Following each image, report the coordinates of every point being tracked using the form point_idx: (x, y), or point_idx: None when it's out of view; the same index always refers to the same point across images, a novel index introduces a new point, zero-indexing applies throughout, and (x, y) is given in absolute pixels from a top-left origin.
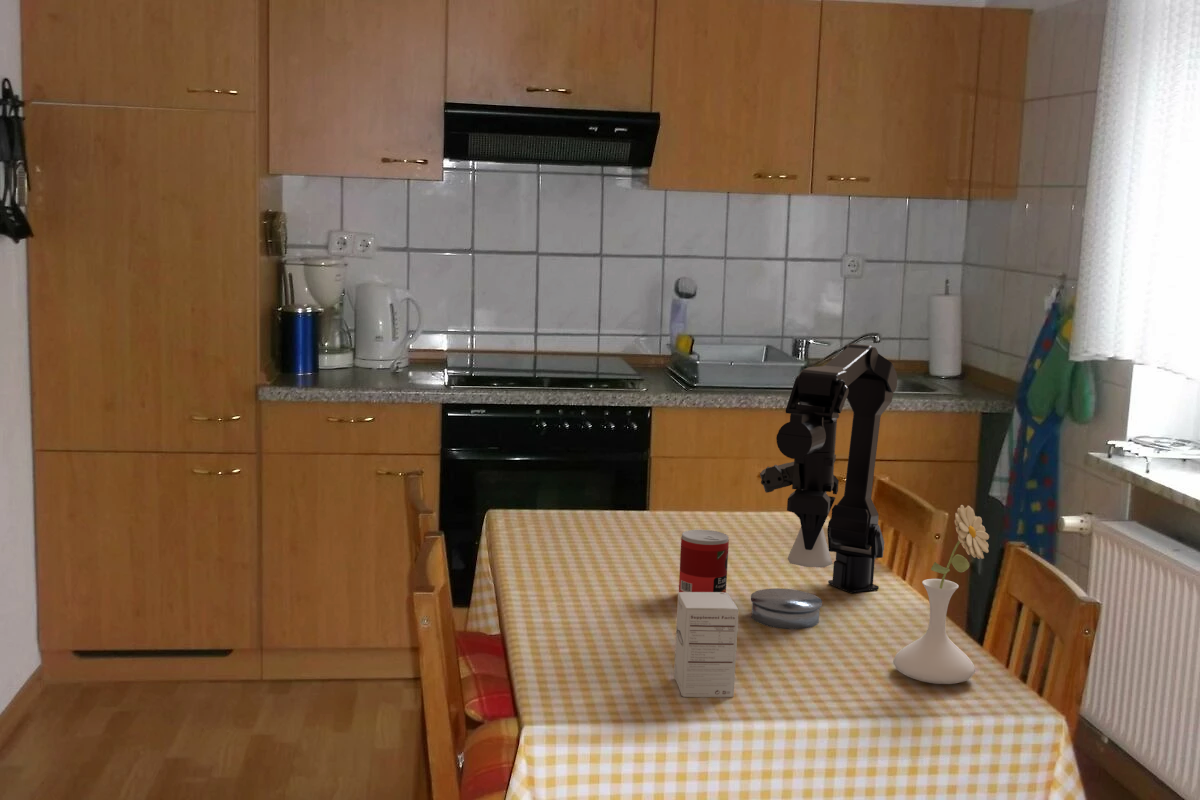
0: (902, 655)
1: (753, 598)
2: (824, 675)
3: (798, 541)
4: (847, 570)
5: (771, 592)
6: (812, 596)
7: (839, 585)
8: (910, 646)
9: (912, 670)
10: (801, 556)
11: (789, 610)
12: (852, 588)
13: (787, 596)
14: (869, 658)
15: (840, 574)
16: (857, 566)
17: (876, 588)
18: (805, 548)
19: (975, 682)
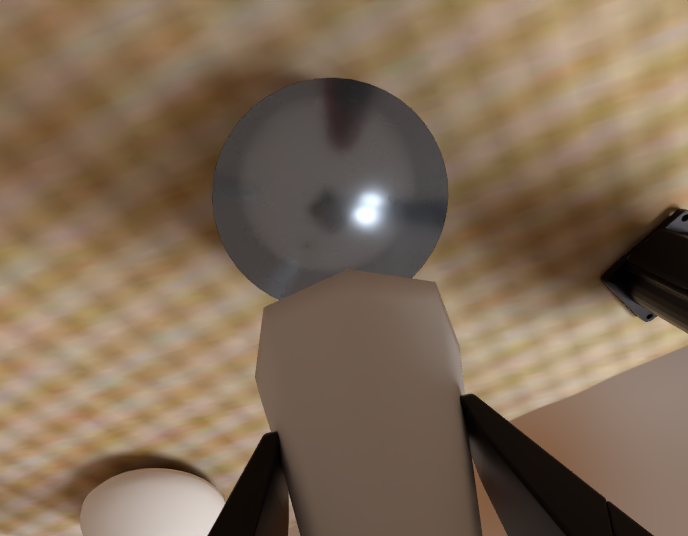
0: (101, 510)
1: (270, 105)
2: (4, 383)
3: (294, 420)
4: (671, 289)
5: (381, 144)
6: (399, 271)
7: (634, 252)
8: (113, 532)
9: (80, 515)
10: (266, 383)
11: (230, 254)
12: (624, 279)
13: (362, 208)
14: (177, 413)
15: (664, 265)
16: (683, 317)
17: (640, 317)
18: (263, 437)
19: None
